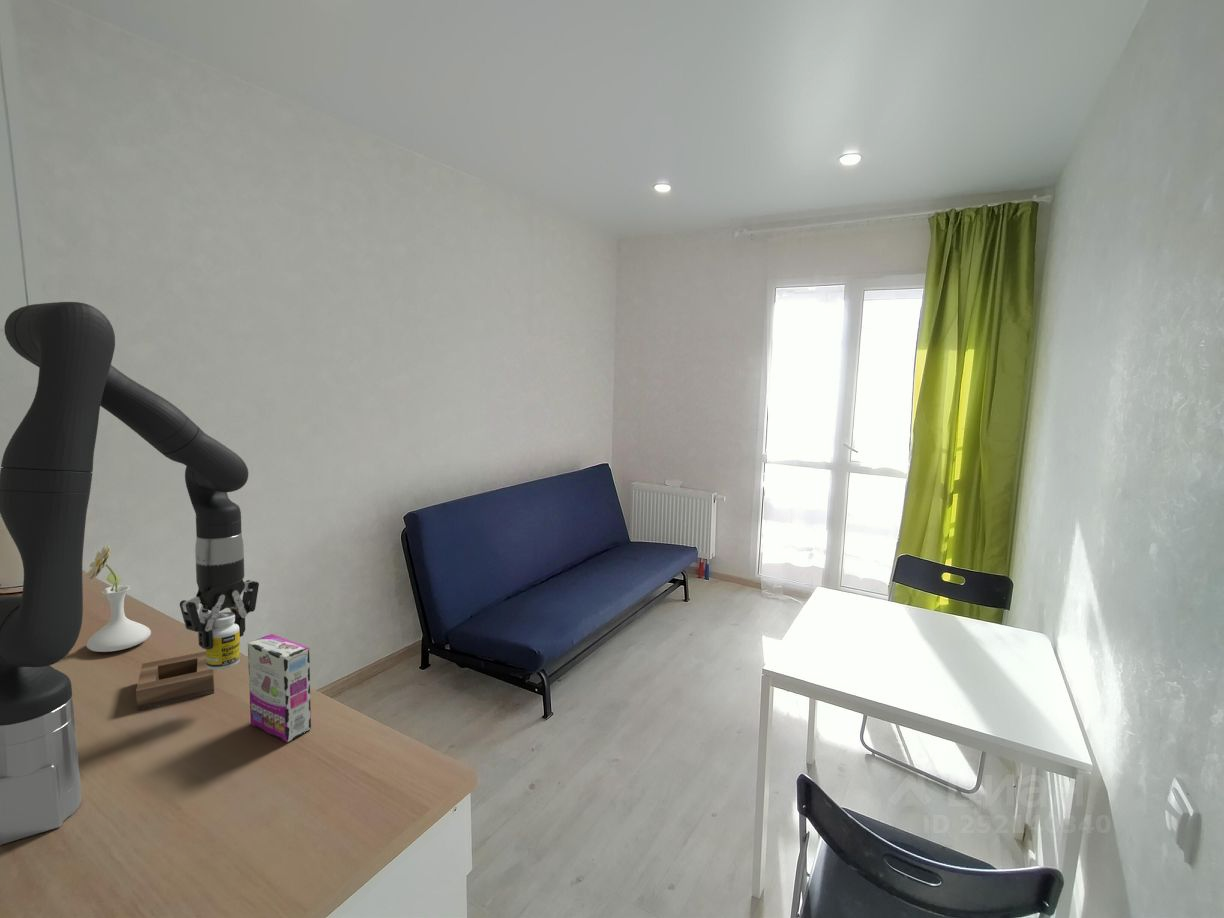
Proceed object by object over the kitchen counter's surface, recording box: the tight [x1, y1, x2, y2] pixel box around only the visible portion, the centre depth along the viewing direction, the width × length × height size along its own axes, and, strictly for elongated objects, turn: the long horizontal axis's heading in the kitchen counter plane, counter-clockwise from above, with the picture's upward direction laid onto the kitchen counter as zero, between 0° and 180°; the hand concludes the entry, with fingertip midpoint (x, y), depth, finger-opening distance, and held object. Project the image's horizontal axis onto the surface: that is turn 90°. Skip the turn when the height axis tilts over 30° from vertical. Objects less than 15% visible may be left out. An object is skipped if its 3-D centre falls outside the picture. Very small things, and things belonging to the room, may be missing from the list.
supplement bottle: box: [205, 611, 241, 671], centre depth 108 cm, size 5×5×10 cm
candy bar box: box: [247, 633, 312, 743], centre depth 103 cm, size 11×5×16 cm, turn 64°
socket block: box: [135, 650, 215, 711], centre depth 115 cm, size 12×12×4 cm
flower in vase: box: [85, 545, 152, 653], centre depth 128 cm, size 13×11×25 cm
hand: (223, 641), depth 108 cm, fingers closed on supplement bottle, 5 cm apart
